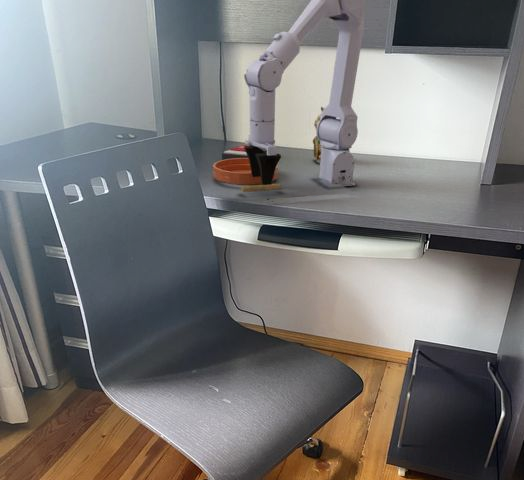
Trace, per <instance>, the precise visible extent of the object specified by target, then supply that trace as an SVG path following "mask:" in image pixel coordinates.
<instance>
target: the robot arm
mask: <svg viewBox="0 0 524 480" xmlns="http://www.w3.org/2000/svg"><path fill="white" fill-rule="evenodd" d="M365 6H366V0H310V1H309V3H308V4H307V6H306V7H305V8H304V10H303V11H302V12H301V14H299V17H298V18H297V19H296V21H295V22H294V23H293V25H292V26H291V28H289V30H288V31H281V32H279V33H276V34H275V35H273V38H272V39H273V41H272V42H271V44H270V45H268V47H267V48H265V49H266V50H265V51H262V52H261V53H260V54H259V59H256V60H252V61H251V62H250V63H249V65H248V66H247V68H246V73H244V74H243V79H244V81H245V84H246V85H247V87H248V94H249V134H248V140H247V139H245V140H244V145H248V146H244V149H245V151H246V153H247V156H248V159H249V163H250V168H251V173H252V176H253V177H261V181H262V184H261V185H271V184H273V181H272V180H273V176H274V172H275V168H276V166H277V165H279V164H278V163H279V161H280V160H281V158H282V155H281V154H280V153H277V145H276V139H275V131H276V130H275V129H276V128H275V127H276V89H277V88H279V86H280V85H281V83H282V77H283V74H284V73H285V71H286V69H287V68H288V67H289V66H290V65H291V63H292V62H293V61H294V60H295V58H297V56H298V55H299V54H300V51H301V49H300V47H301V46H300V45H301V43H302V42H303V41H304V40H305V39H306V38H307V36H309V34H310V33H311V32H312V31H314V29H315V28H316V27H317V26H318V25H319V24H320V23H321V22H322V21H323V19H326V18H328V19H329V20H330V21H331V22H332V23H334V25H335V27H336V28H337V30H338V32H339V33H338V40H337V46H336V53H335V61H334V67H333V74H332V81H331V88H330V94H329V102H328V104H327V106H325V107H324V108H325V109H324V110H323V111H321V113H320V114H321V118H320V121H319V123H318V125H317V129H316V128H315V133H316V136H317V137H318V139H319V140H320V145H322V147H321V160H320V163H319V175H318V178H319V179H320V180H324V181H326V182H328V183H329V184H332V185H333V184H339V185H341V186H342V187H353V186H356V183H355V182H353V179H354V168H355V158H354V156H353V154H352V153H351V151H350V149H352V147H353V145H354V144H355V143H356V141H357V138H358V133H359V132H358V131H359V130H358V129H359V128H358V115H357V113H356V112H355V111H354V109H353V107H352V104H353V98H354V92H355V85H356V78H357V73H358V67H359V60H360V54H361V47H362V43H363V36H364V31H365V14H364V13H365V12H364V10H365Z"/></svg>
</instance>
